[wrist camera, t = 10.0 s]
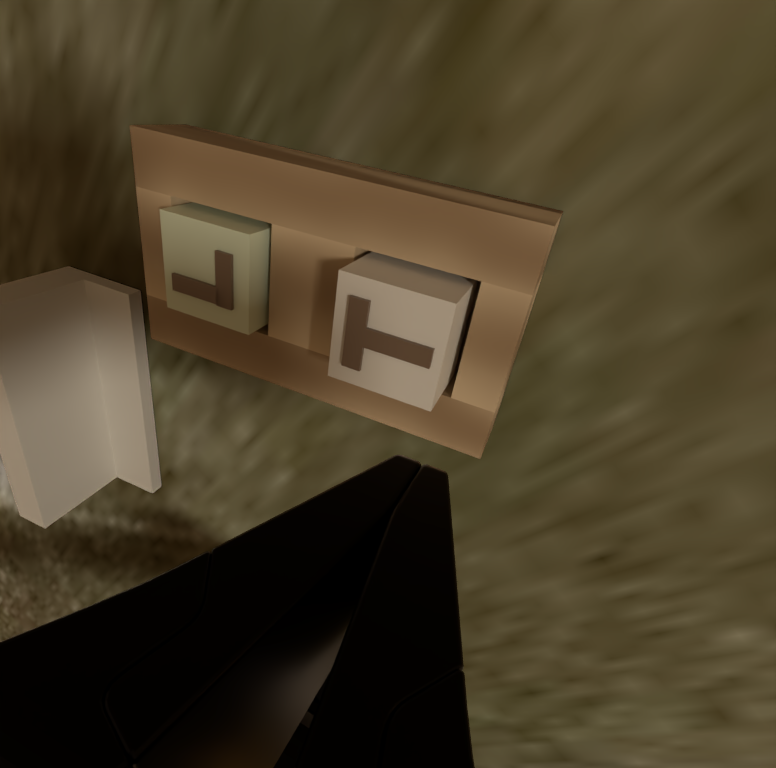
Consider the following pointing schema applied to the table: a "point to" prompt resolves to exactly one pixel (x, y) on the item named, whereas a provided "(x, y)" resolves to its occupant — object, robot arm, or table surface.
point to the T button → (399, 327)
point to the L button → (217, 265)
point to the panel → (338, 249)
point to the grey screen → (73, 391)
